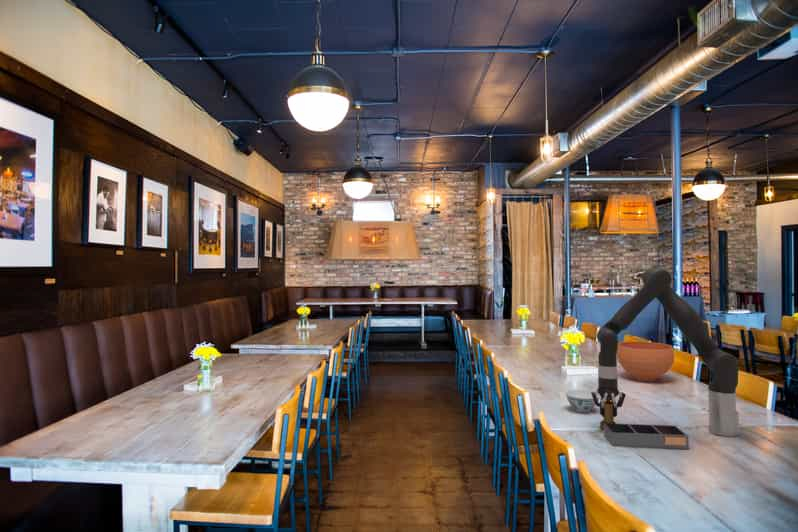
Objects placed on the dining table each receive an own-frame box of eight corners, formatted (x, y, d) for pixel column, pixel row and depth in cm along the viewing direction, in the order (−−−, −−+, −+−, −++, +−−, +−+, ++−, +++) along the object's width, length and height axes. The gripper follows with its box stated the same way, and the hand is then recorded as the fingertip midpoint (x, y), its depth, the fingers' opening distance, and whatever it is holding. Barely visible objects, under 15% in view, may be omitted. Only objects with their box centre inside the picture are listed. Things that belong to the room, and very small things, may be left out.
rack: (675, 438, 185) (675, 425, 185) (689, 449, 173) (688, 436, 173) (604, 435, 189) (604, 423, 189) (612, 446, 177) (612, 433, 177)
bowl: (606, 377, 285) (605, 343, 285) (639, 371, 298) (639, 339, 298) (650, 388, 258) (650, 351, 258) (685, 381, 271) (685, 346, 271)
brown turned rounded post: (607, 432, 192) (606, 388, 193) (596, 426, 199) (596, 385, 199) (620, 430, 194) (620, 387, 194) (609, 425, 201) (609, 383, 201)
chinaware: (603, 415, 213) (602, 399, 213) (568, 414, 216) (568, 397, 216) (595, 406, 228) (595, 390, 228) (563, 404, 231) (563, 389, 231)
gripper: (622, 374, 199) (623, 414, 199) (588, 373, 201) (588, 413, 201) (628, 378, 192) (629, 419, 192) (592, 377, 194) (593, 418, 194)
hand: (608, 416), depth 197 cm, fingers closed on brown turned rounded post, 4 cm apart
